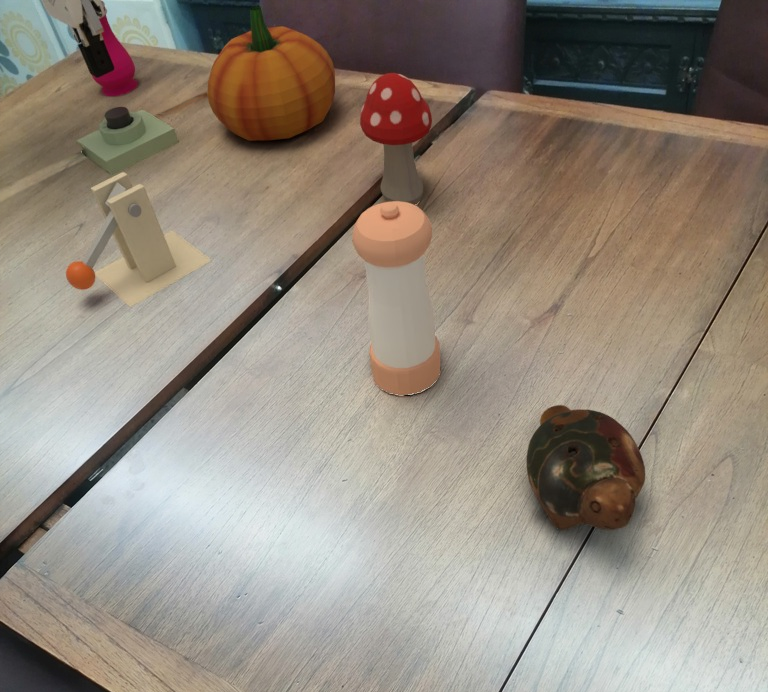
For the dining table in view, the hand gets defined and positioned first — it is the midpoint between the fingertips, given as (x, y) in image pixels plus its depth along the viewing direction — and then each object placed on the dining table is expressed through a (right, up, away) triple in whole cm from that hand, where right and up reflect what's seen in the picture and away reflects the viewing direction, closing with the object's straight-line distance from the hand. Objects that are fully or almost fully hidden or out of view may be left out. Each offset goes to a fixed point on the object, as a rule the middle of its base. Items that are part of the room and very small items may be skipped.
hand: (103, 72), depth 100 cm
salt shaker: (+43, -49, -26) cm, 70 cm away
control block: (+1, -6, +9) cm, 11 cm away
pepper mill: (-4, +8, +20) cm, 22 cm away
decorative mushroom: (+43, -21, -7) cm, 49 cm away
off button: (0, -4, +6) cm, 7 cm away
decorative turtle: (+58, -62, -37) cm, 93 cm away
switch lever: (+8, -32, -17) cm, 37 cm away
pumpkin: (+24, -2, +9) cm, 26 cm away
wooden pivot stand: (+11, -33, -11) cm, 37 cm away
